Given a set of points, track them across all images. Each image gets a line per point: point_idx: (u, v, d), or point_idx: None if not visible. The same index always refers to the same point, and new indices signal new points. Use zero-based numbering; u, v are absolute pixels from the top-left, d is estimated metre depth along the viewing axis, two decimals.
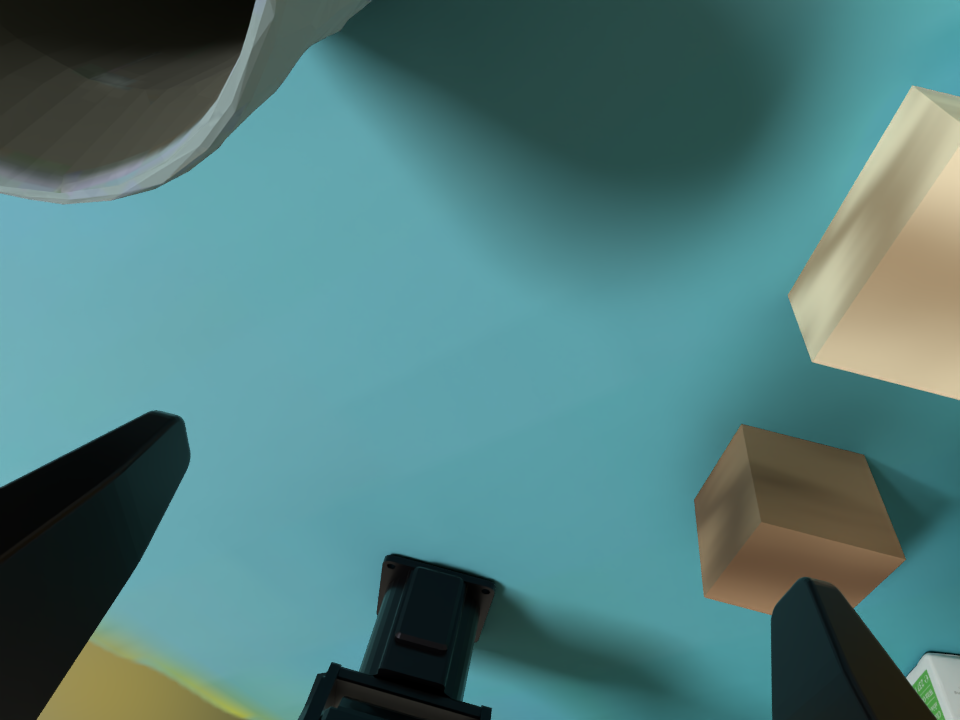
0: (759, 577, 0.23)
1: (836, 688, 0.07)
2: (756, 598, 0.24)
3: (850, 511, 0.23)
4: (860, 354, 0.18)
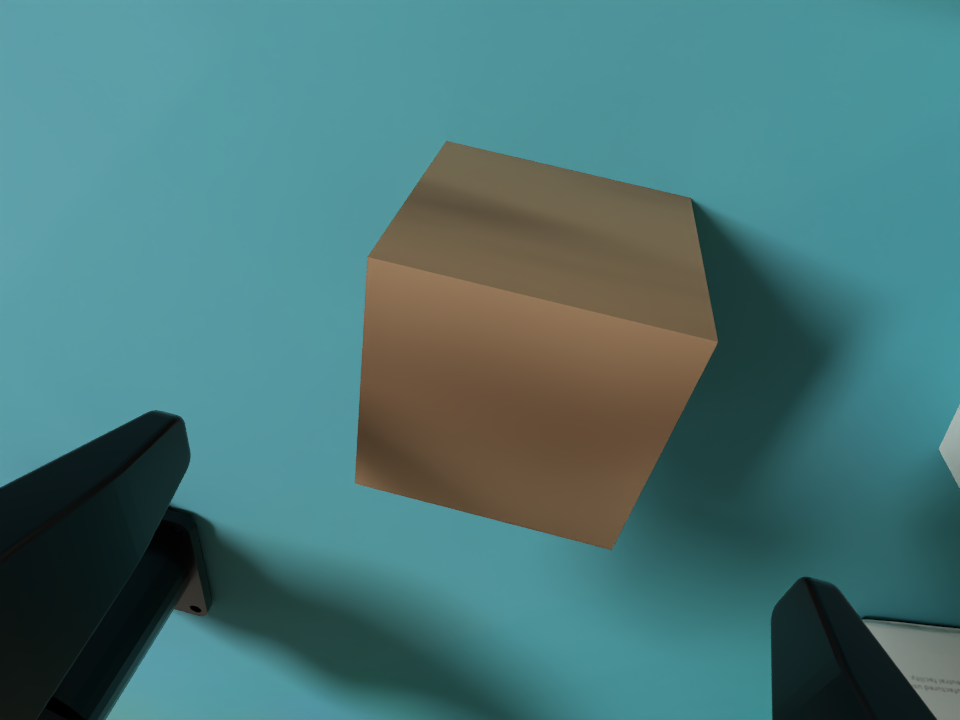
0: (431, 423, 0.11)
1: (836, 688, 0.07)
2: (448, 480, 0.11)
3: (616, 260, 0.10)
4: None
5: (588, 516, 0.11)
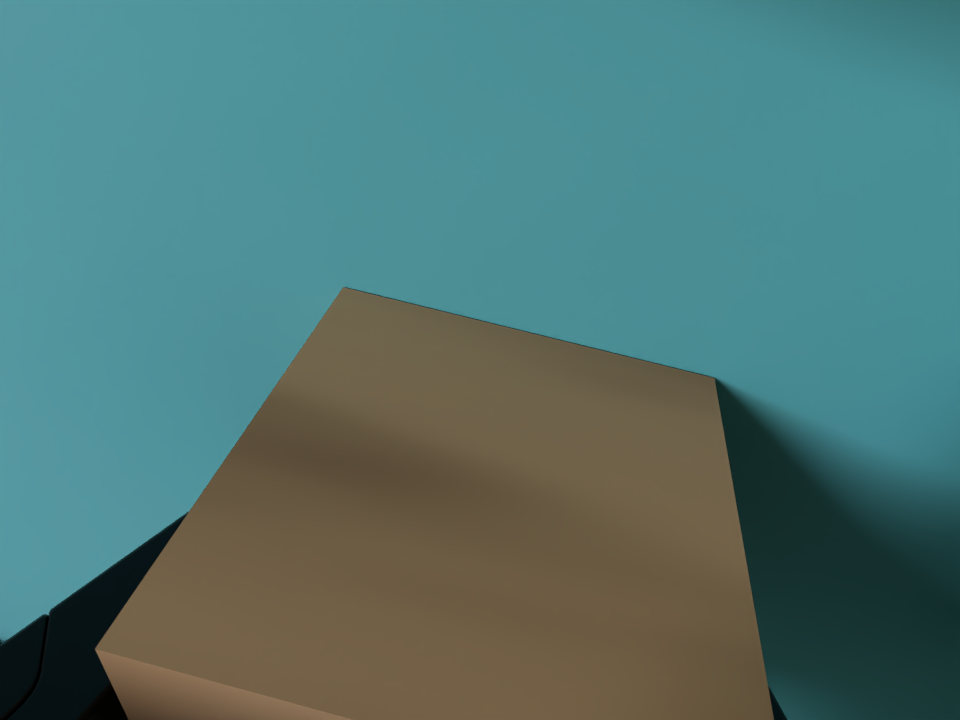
0: None
1: None
2: None
3: (595, 578, 0.06)
4: None
5: None
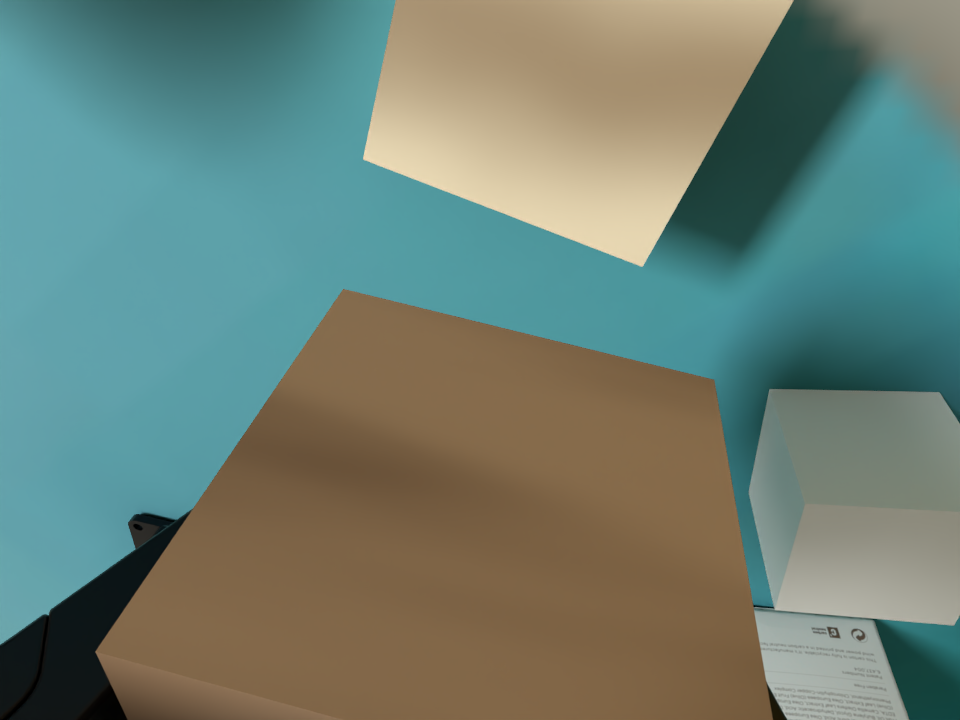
0: None
1: None
2: None
3: (594, 580, 0.06)
4: (414, 149, 0.14)
5: None
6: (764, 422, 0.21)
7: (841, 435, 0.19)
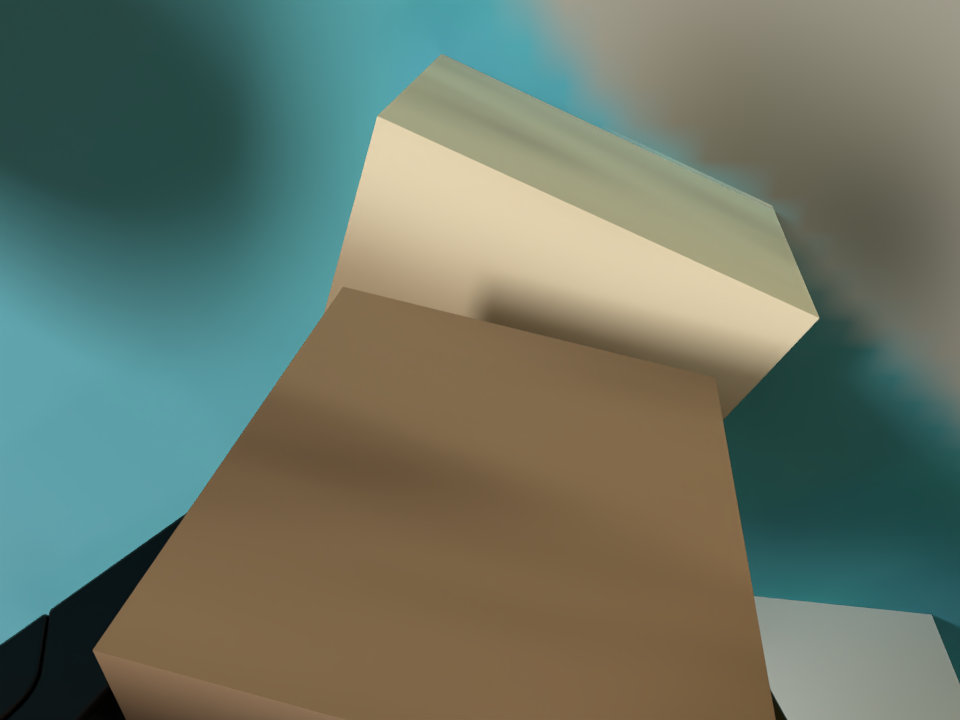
0: None
1: None
2: None
3: (595, 578, 0.06)
4: None
5: None
6: None
7: (823, 671, 0.17)
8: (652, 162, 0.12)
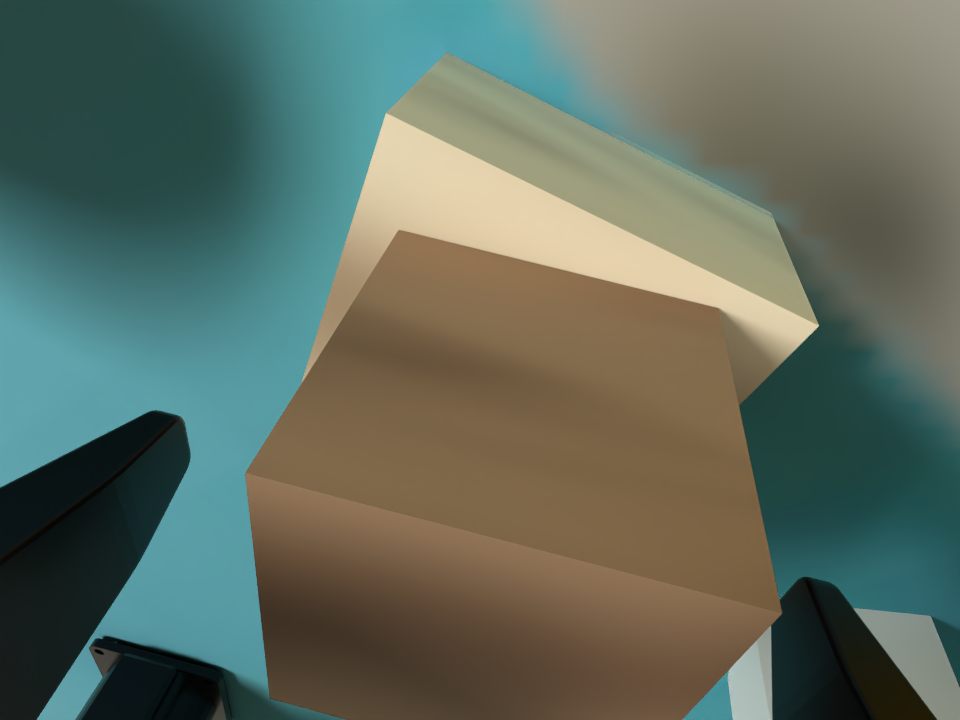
0: (362, 654, 0.08)
1: (836, 688, 0.07)
2: (391, 709, 0.08)
3: (623, 443, 0.07)
4: None
5: None
6: None
7: None
8: (655, 167, 0.12)
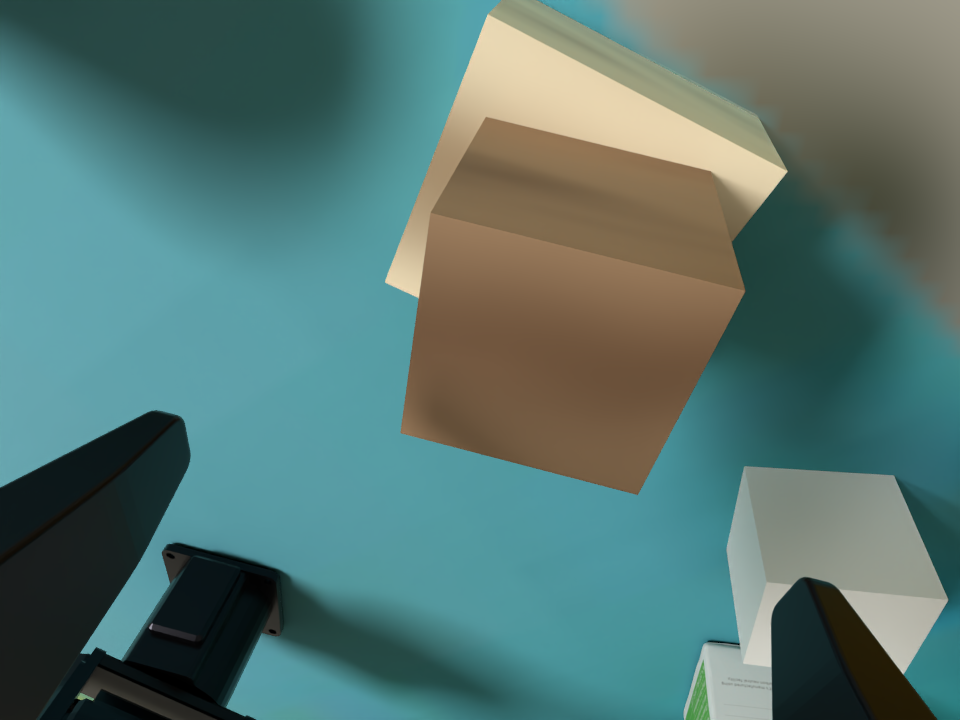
0: (477, 372, 0.12)
1: (836, 688, 0.07)
2: (488, 429, 0.12)
3: (649, 222, 0.11)
4: None
5: (618, 461, 0.12)
6: (739, 493, 0.24)
7: (803, 516, 0.21)
8: (669, 74, 0.15)
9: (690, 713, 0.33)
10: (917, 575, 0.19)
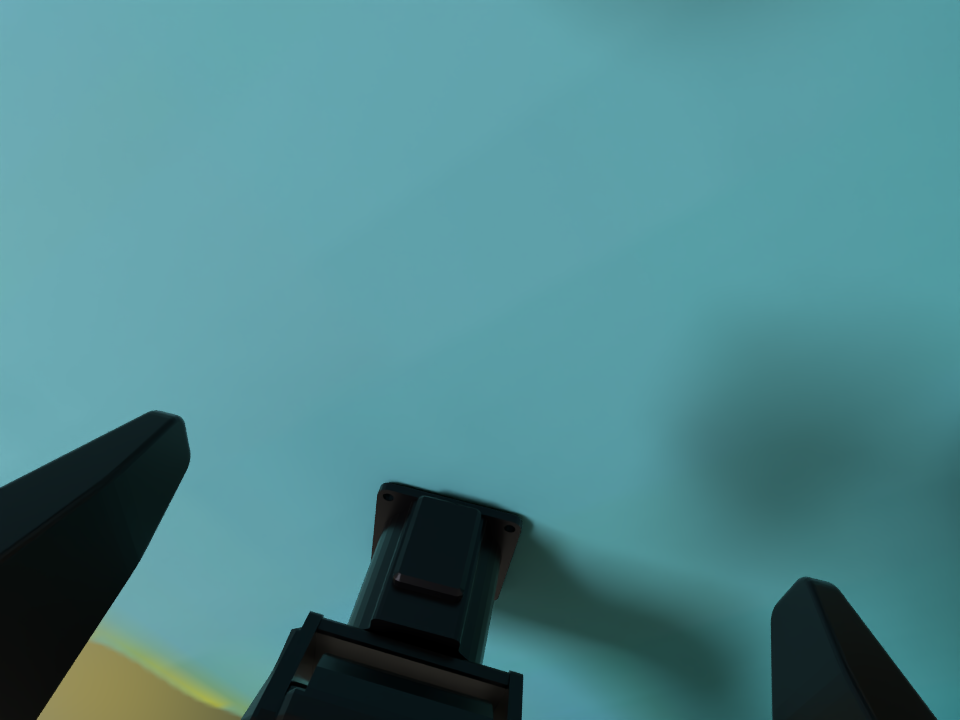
0: None
1: (836, 688, 0.07)
2: None
3: None
4: None
5: None
6: None
7: None
8: None
9: None
10: None
